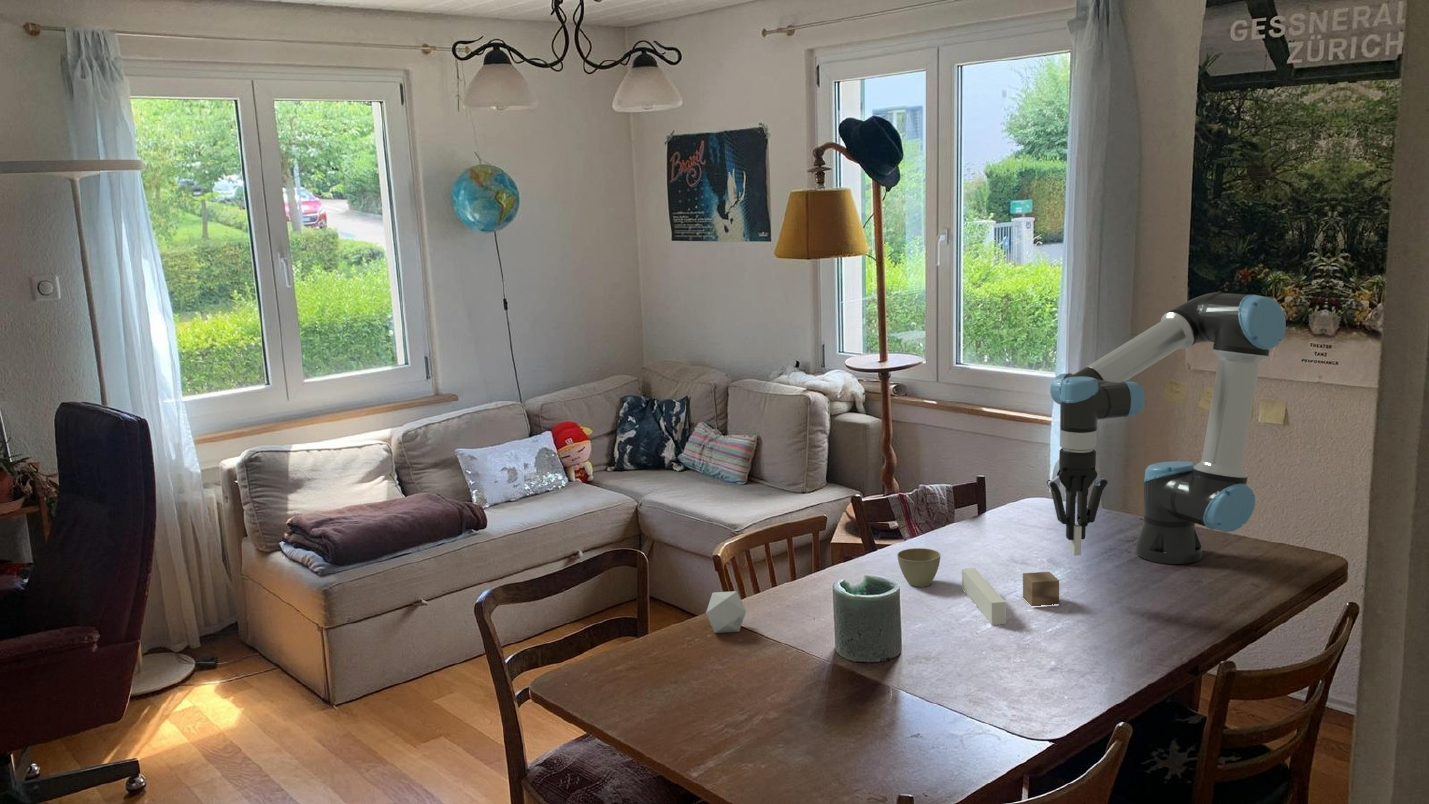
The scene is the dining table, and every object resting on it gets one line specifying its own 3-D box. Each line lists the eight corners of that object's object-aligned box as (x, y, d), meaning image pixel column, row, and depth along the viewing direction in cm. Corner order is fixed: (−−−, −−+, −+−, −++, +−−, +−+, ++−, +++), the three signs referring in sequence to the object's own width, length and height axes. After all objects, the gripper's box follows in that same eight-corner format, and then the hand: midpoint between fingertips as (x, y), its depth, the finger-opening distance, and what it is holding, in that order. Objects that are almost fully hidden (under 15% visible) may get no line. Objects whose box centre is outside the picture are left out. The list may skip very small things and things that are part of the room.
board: (975, 588, 254) (975, 567, 253) (1006, 624, 232) (1006, 601, 232) (962, 589, 254) (961, 568, 253) (991, 625, 232) (991, 602, 231)
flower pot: (938, 575, 264) (938, 547, 262) (943, 590, 254) (942, 560, 253) (896, 576, 265) (895, 548, 263) (899, 591, 255) (898, 561, 254)
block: (1049, 597, 247) (1049, 571, 246) (1059, 606, 241) (1059, 580, 240) (1022, 598, 247) (1022, 573, 246) (1032, 608, 241) (1032, 582, 240)
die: (733, 643, 231) (756, 601, 233) (695, 622, 232) (718, 580, 233) (732, 642, 239) (754, 601, 241) (696, 622, 240) (718, 581, 242)
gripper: (1100, 443, 242) (1097, 546, 246) (1042, 446, 241) (1040, 549, 245) (1114, 451, 235) (1111, 557, 239) (1054, 453, 234) (1052, 560, 238)
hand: (1075, 553), depth 242 cm, fingers closed
